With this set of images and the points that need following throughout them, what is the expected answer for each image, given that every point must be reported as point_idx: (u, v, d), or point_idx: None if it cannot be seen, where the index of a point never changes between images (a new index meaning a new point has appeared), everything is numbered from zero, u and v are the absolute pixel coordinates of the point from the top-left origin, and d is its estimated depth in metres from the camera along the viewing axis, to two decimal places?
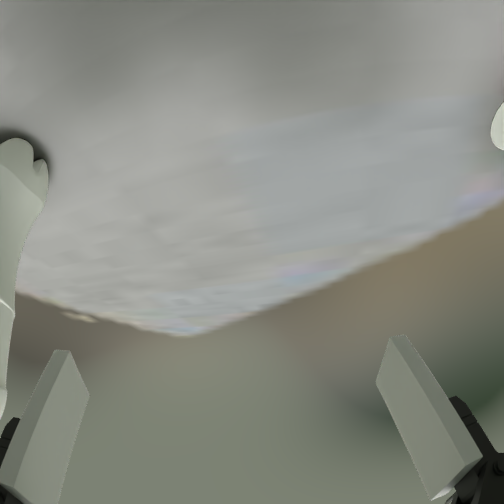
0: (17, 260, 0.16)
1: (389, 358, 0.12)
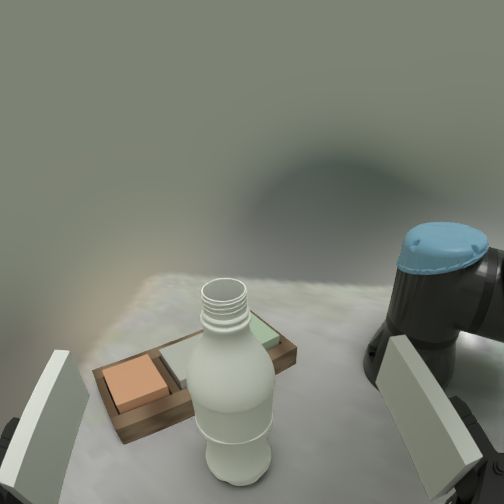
0: (245, 455, 0.26)
1: (389, 358, 0.12)
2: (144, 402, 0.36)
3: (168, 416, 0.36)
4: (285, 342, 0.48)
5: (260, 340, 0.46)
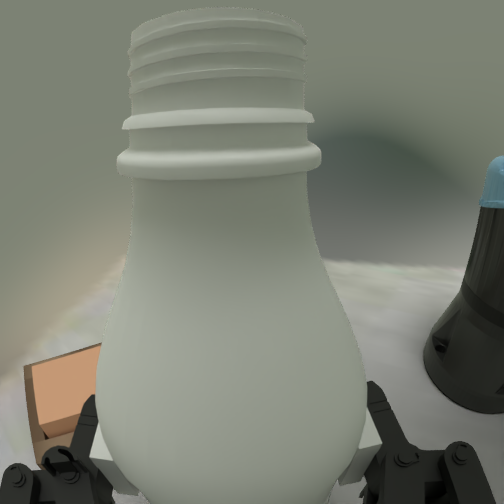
0: None
1: None
2: None
3: None
4: None
5: None
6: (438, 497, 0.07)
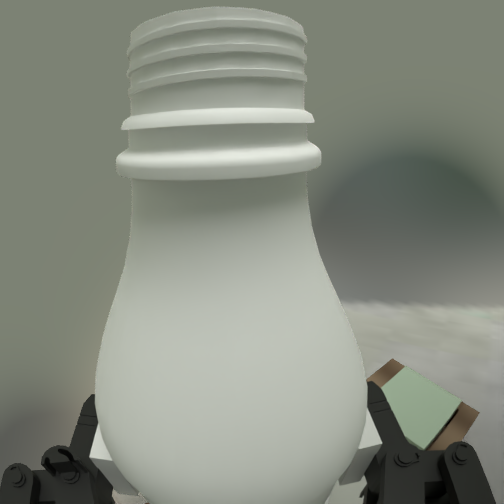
0: None
1: None
2: None
3: None
4: (463, 408, 0.23)
5: (442, 415, 0.22)
6: (438, 497, 0.07)
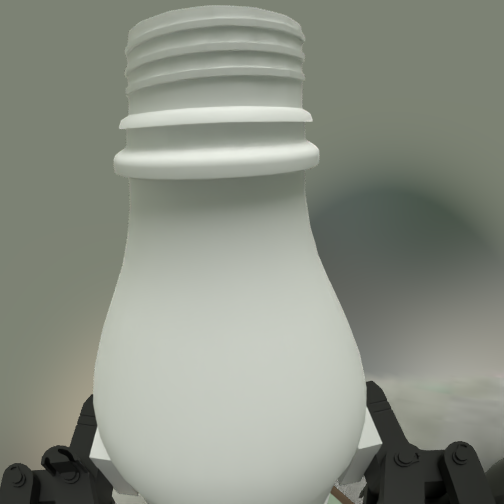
0: None
1: None
2: None
3: None
4: None
5: None
6: (438, 497, 0.07)
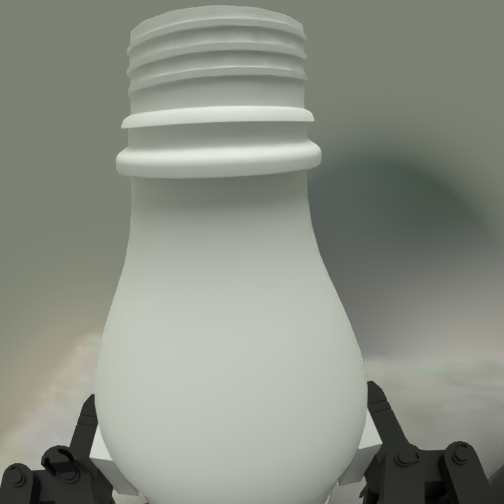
0: None
1: None
2: None
3: None
4: None
5: None
6: (438, 497, 0.07)
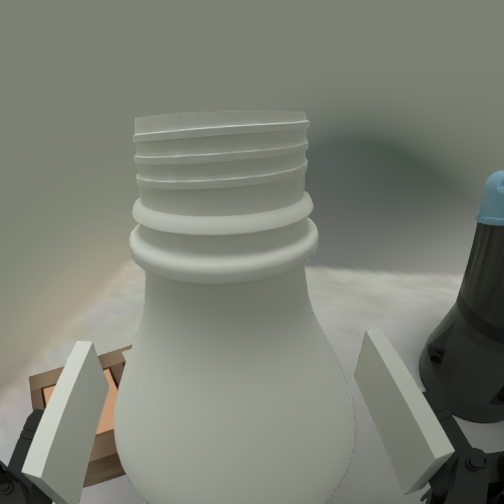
0: None
1: (365, 351, 0.12)
2: None
3: None
4: None
5: None
6: (491, 497, 0.06)
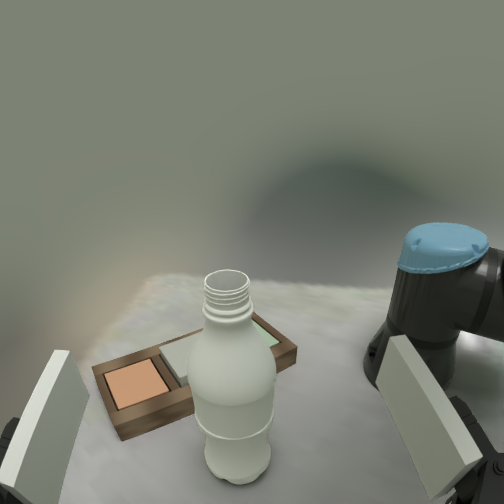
0: (244, 452, 0.26)
1: (389, 358, 0.12)
2: None
3: (167, 413, 0.36)
4: (285, 341, 0.48)
5: None
6: None
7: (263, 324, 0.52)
